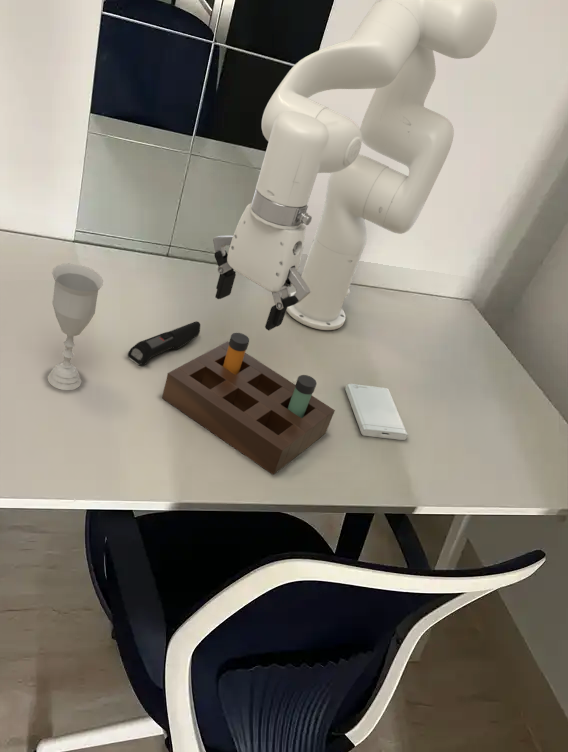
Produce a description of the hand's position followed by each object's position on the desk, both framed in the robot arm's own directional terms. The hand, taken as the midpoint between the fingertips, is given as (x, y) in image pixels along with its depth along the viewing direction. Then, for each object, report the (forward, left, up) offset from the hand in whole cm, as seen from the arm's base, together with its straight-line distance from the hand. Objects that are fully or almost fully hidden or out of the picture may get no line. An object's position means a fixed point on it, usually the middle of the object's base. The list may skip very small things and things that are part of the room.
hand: (246, 311), depth 122 cm
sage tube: (0, +13, -15) cm, 20 cm away
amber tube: (0, 0, -15) cm, 15 cm away
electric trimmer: (0, -13, -15) cm, 20 cm away
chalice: (+20, -16, -15) cm, 30 cm away
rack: (+3, +7, -15) cm, 17 cm away
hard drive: (-17, +21, -15) cm, 31 cm away
